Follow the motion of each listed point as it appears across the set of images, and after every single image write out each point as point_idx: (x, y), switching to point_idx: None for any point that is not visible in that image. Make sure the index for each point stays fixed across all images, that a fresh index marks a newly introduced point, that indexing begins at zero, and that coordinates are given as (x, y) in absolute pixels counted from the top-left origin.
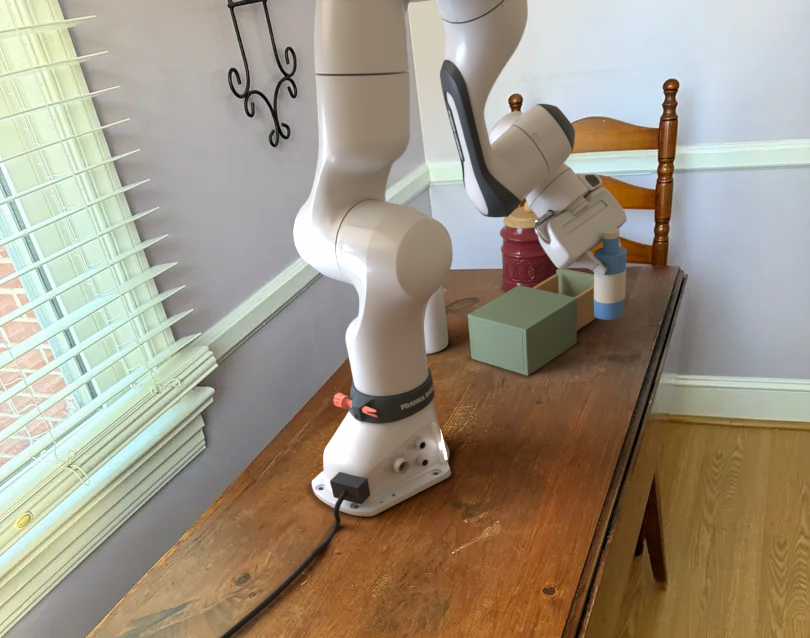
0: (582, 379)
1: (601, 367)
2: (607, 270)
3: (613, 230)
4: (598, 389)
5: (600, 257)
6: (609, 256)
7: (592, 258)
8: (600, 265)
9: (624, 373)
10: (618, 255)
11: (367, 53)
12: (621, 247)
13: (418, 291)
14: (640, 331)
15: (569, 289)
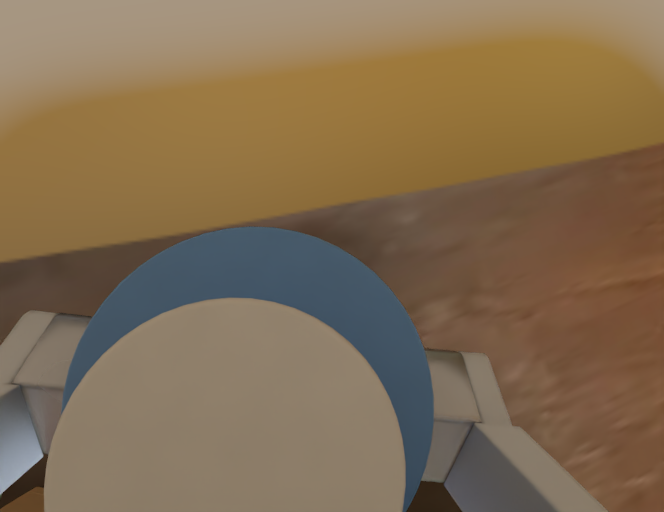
0: (520, 348)
1: (422, 319)
2: (429, 350)
3: (234, 422)
4: (559, 273)
5: (424, 461)
6: (403, 361)
7: (591, 509)
8: (503, 407)
9: (436, 232)
10: (355, 273)
11: None
12: (108, 327)
13: None
14: (109, 285)
15: None
